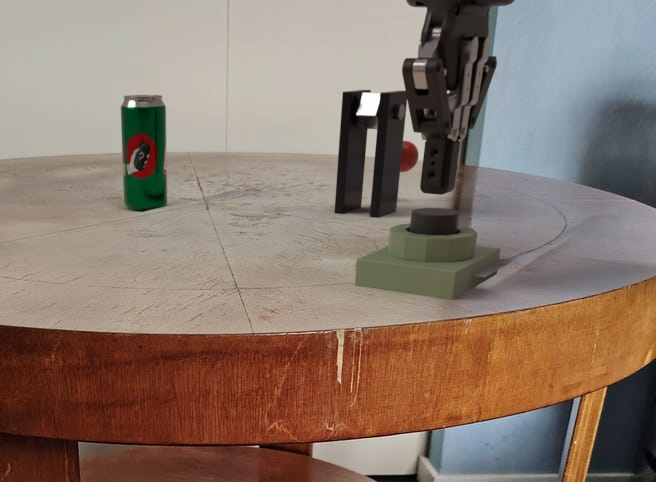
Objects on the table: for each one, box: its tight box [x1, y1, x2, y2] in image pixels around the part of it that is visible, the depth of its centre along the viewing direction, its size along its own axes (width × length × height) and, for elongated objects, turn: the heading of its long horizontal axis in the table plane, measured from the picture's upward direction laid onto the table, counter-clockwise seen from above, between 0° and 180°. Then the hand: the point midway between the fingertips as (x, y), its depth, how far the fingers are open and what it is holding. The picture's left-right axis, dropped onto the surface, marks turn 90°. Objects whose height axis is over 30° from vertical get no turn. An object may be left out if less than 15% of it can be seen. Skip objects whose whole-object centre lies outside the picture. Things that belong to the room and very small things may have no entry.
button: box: [409, 207, 460, 235], centre depth 70 cm, size 4×4×2 cm
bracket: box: [334, 89, 408, 219], centre depth 92 cm, size 9×11×13 cm
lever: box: [356, 91, 420, 173], centre depth 94 cm, size 13×3×3 cm
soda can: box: [120, 94, 168, 212], centre depth 103 cm, size 5×5×12 cm
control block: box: [354, 222, 501, 301], centre depth 72 cm, size 8×10×4 cm
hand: (436, 192), depth 69 cm, fingers closed
